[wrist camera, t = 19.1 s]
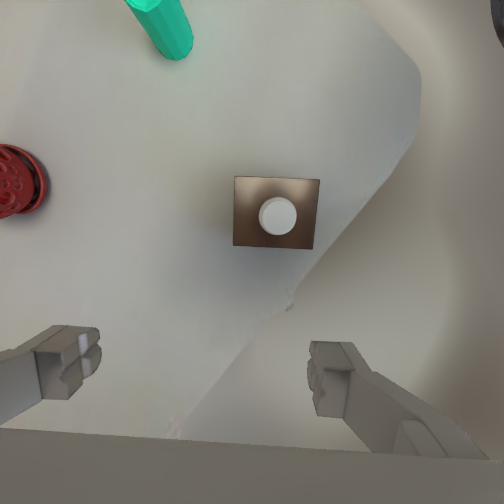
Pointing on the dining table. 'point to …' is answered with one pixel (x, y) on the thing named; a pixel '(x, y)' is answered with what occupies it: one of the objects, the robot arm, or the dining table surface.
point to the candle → (165, 25)
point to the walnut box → (261, 189)
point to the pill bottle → (277, 215)
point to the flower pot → (19, 182)
